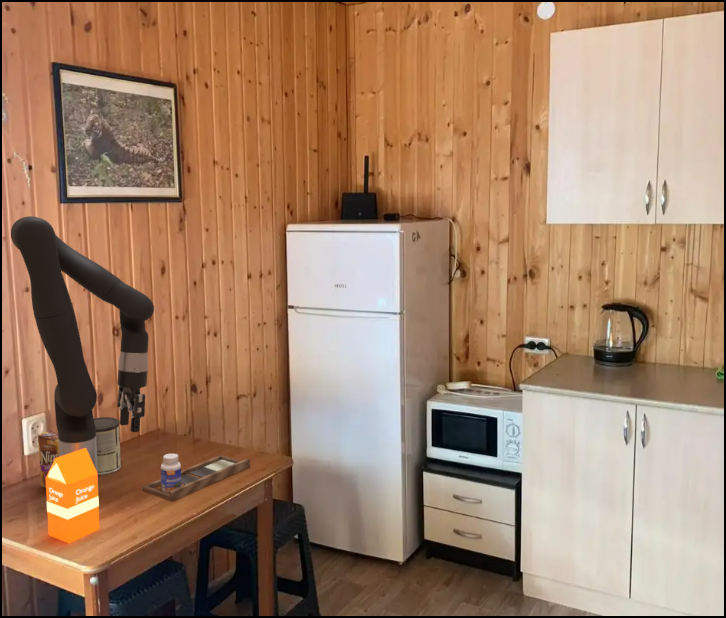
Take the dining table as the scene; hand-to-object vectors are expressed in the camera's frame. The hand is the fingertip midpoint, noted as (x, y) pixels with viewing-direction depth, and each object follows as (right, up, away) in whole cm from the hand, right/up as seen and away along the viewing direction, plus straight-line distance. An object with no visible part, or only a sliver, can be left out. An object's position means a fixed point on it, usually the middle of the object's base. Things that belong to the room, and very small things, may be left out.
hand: (129, 428), depth 197 cm
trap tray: (+16, -16, +13) cm, 26 cm away
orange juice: (-7, -22, -20) cm, 31 cm away
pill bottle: (+10, -18, +5) cm, 21 cm away
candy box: (-21, -17, +5) cm, 28 cm away
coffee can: (-14, -15, +19) cm, 28 cm away
